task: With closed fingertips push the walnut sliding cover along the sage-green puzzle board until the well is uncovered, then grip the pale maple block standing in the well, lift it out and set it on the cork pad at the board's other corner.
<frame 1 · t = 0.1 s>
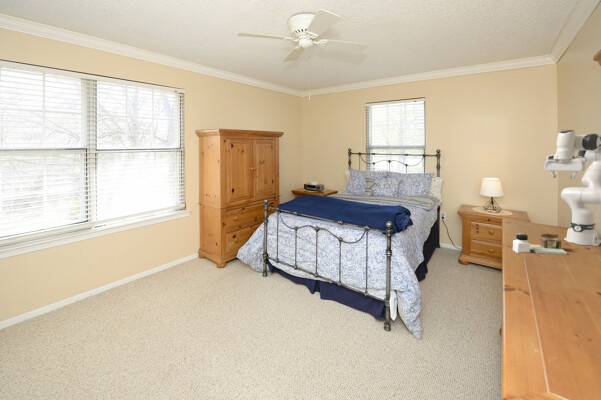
hand: (563, 178, 192), 48 cm above the dresser, fingers open, 8 cm apart
block: (550, 249, 200), point 1 cm above the dresser, touching board
board: (546, 251, 198), on the dresser
medicine bottle: (521, 252, 200), on the dresser
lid: (550, 241, 199), point 6 cm above the dresser, slide at 0.0 cm
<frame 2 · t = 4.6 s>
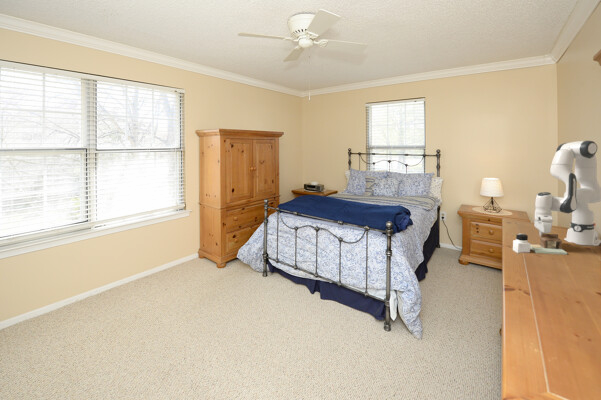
hand: (541, 236, 205), 8 cm above the dresser, fingers closed
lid: (550, 241, 199), point 6 cm above the dresser, slide at 0.3 cm, touching gripper
everything else where it was.
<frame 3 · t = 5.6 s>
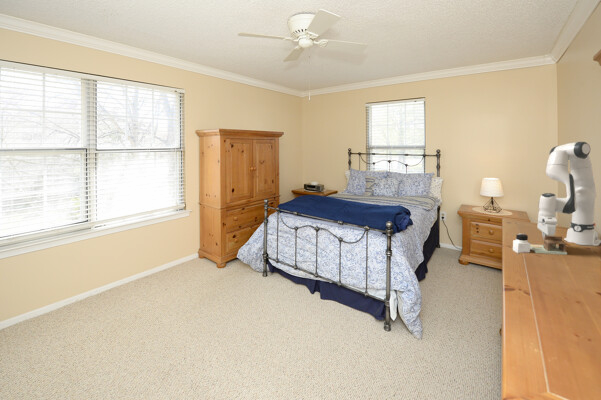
hand: (544, 238, 199), 8 cm above the dresser, fingers closed
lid: (554, 243, 193), point 6 cm above the dresser, slide at 6.3 cm, touching gripper
everything else where it was.
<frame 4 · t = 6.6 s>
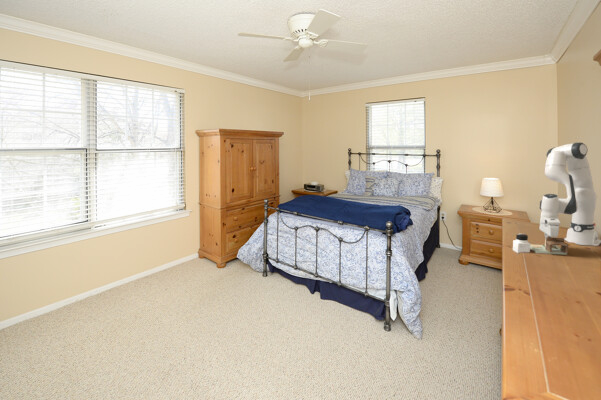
hand: (547, 240, 196), 8 cm above the dresser, fingers closed
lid: (556, 245, 190), point 6 cm above the dresser, slide at 9.5 cm, touching gripper
everything else where it was.
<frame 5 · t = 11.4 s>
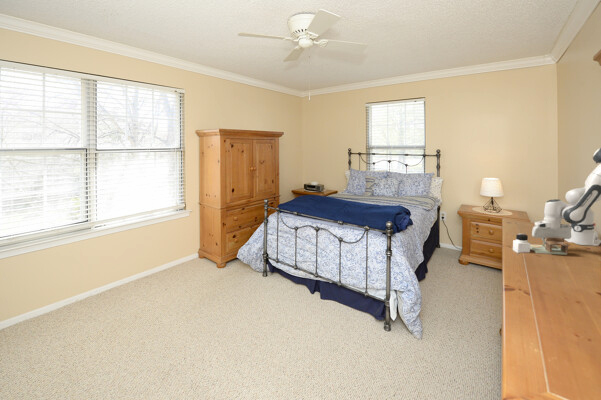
hand: (550, 244, 199), 4 cm above the dresser, fingers closed on block, 4 cm apart
block: (550, 249, 200), point 1 cm above the dresser, touching board, gripper
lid: (556, 245, 190), point 6 cm above the dresser, slide at 9.5 cm
everything else where it was.
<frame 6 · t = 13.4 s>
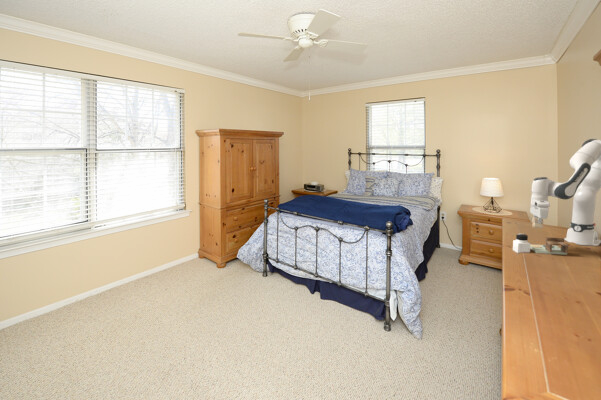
hand: (537, 222, 200), 19 cm above the dresser, fingers closed on block, 4 cm apart
block: (537, 227, 200), point 16 cm above the dresser, touching gripper
everything else where it was.
when the fingers open (7 cm above the dresser, at t = 15.8 s): block drops 1 cm, resting on board.
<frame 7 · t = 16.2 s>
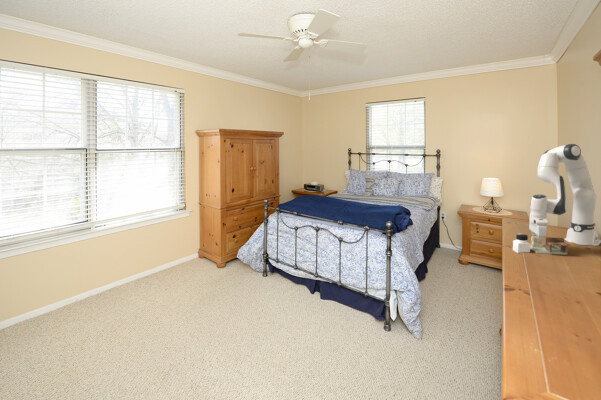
hand: (536, 239, 201), 7 cm above the dresser, fingers open, 8 cm apart
block: (536, 245, 202), point 3 cm above the dresser, touching board
everything else where it was.
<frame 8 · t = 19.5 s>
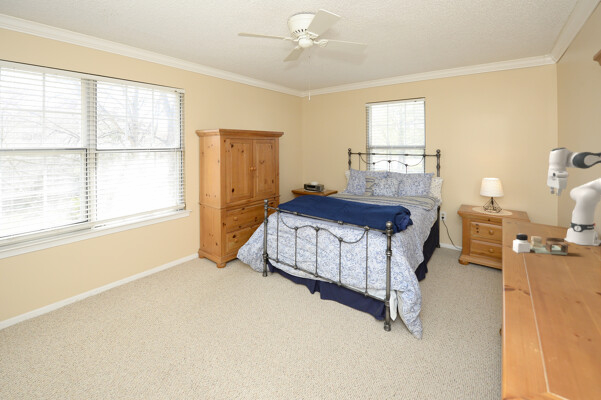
hand: (555, 194, 196), 37 cm above the dresser, fingers open, 8 cm apart
nothing on the dresser moved.
at the end: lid slide at 9.5 cm; block 0.1 cm from the target spot on the board, point 2.7 cm above the board's base; block tilted 0° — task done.
